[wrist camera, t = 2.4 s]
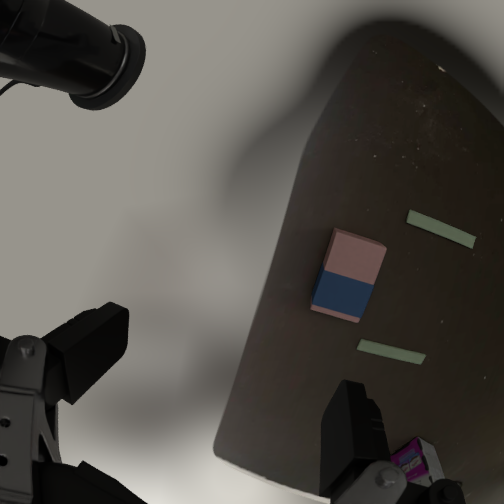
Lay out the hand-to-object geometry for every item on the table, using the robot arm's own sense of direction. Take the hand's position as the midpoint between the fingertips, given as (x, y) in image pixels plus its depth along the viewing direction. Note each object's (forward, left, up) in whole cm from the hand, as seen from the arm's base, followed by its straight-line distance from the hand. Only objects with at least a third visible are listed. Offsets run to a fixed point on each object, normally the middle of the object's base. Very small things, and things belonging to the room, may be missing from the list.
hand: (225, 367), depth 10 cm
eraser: (+6, 0, -18) cm, 19 cm away
